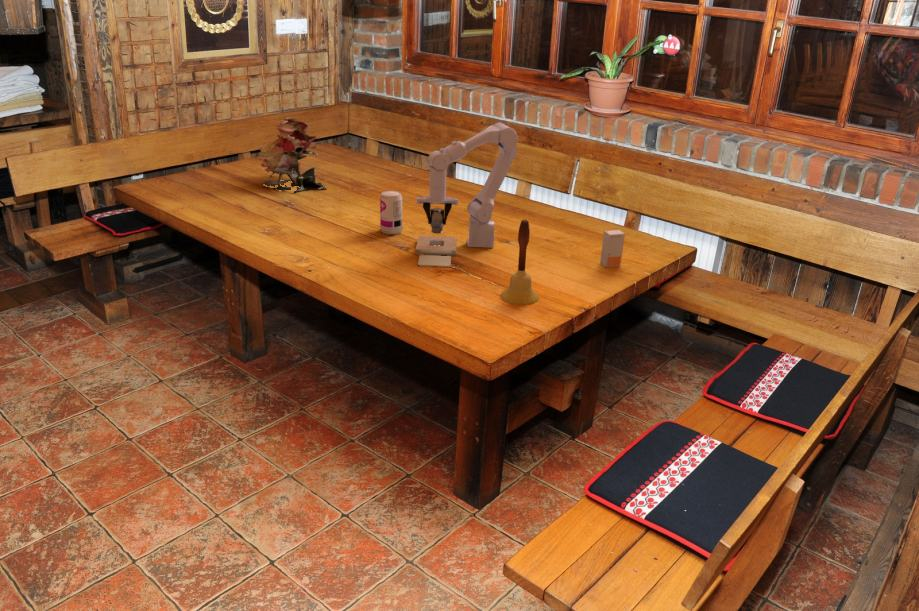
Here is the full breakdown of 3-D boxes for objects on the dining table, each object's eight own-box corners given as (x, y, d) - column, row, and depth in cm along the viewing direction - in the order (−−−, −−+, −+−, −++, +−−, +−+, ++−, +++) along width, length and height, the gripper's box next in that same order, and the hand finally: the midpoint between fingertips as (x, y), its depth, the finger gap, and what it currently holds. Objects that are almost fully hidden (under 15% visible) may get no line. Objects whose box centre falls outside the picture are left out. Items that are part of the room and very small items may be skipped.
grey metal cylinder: (444, 229, 277) (444, 208, 274) (443, 234, 273) (443, 212, 269) (430, 229, 277) (431, 207, 274) (429, 233, 273) (430, 212, 270)
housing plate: (456, 242, 284) (456, 237, 283) (455, 256, 271) (455, 250, 270) (418, 240, 284) (418, 235, 283) (415, 254, 271) (415, 249, 271)
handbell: (534, 288, 248) (539, 213, 237) (543, 304, 237) (550, 227, 226) (496, 289, 246) (500, 214, 235) (504, 306, 235) (508, 228, 224)
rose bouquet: (300, 174, 361) (296, 109, 348) (333, 188, 341) (330, 120, 328) (249, 182, 346) (243, 115, 333) (281, 198, 326) (276, 127, 313)
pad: (451, 257, 270) (451, 256, 270) (450, 267, 262) (450, 265, 262) (419, 256, 270) (419, 254, 270) (417, 265, 262) (417, 264, 262)
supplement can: (382, 235, 288) (382, 197, 281) (378, 228, 295) (378, 190, 289) (404, 234, 290) (404, 196, 283) (399, 227, 297) (399, 189, 291)
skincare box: (605, 267, 265) (609, 234, 260) (599, 263, 269) (603, 230, 264) (621, 266, 267) (625, 233, 262) (615, 261, 271) (619, 229, 266)
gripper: (416, 188, 264) (415, 226, 270) (458, 190, 264) (457, 227, 270) (417, 183, 271) (417, 220, 277) (458, 184, 271) (457, 221, 276)
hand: (437, 223), depth 274 cm, fingers closed on grey metal cylinder, 5 cm apart
